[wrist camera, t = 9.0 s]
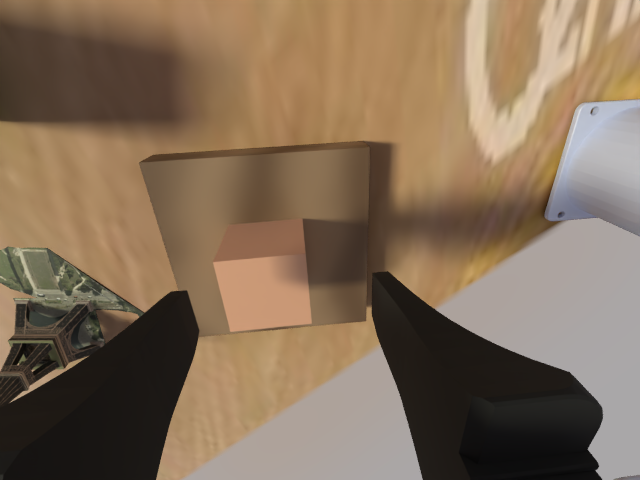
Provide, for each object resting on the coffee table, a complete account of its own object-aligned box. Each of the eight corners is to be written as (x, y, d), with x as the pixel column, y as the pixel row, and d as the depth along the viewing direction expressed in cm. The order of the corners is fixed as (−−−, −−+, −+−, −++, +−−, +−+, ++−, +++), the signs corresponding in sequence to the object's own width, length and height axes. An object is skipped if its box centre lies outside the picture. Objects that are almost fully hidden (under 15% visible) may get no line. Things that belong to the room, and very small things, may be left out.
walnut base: (362, 140, 20) (369, 147, 18) (360, 304, 26) (366, 321, 24) (152, 155, 19) (138, 162, 18) (200, 319, 25) (193, 337, 24)
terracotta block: (302, 218, 20) (305, 253, 16) (308, 279, 22) (311, 323, 18) (228, 224, 20) (212, 262, 16) (241, 285, 22) (230, 331, 18)
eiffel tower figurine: (192, 336, 27) (113, 541, 15) (119, 394, 29) (1, 610, 17) (9, 214, 21) (-362, 395, 9) (-63, 300, 23) (-430, 531, 11)
